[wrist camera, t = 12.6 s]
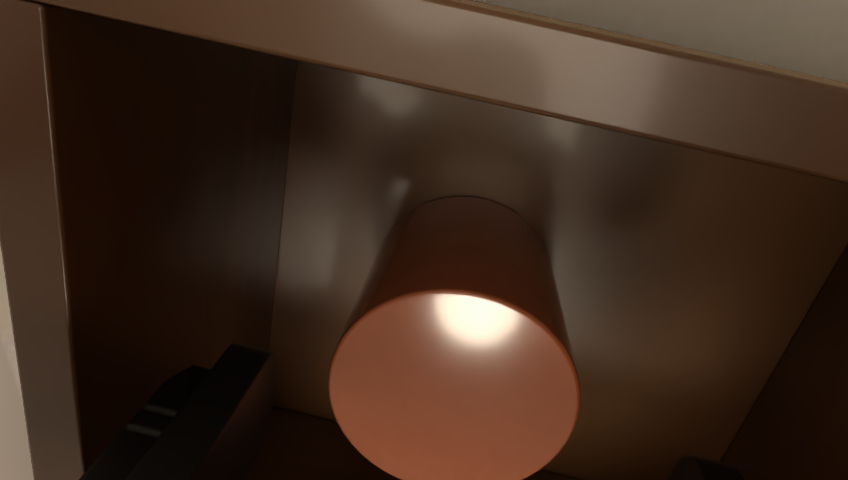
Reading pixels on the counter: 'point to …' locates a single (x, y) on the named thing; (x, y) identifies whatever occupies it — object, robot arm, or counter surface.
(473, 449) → the orange cylinder
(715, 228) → the brown wooden box
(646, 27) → the counter surface
